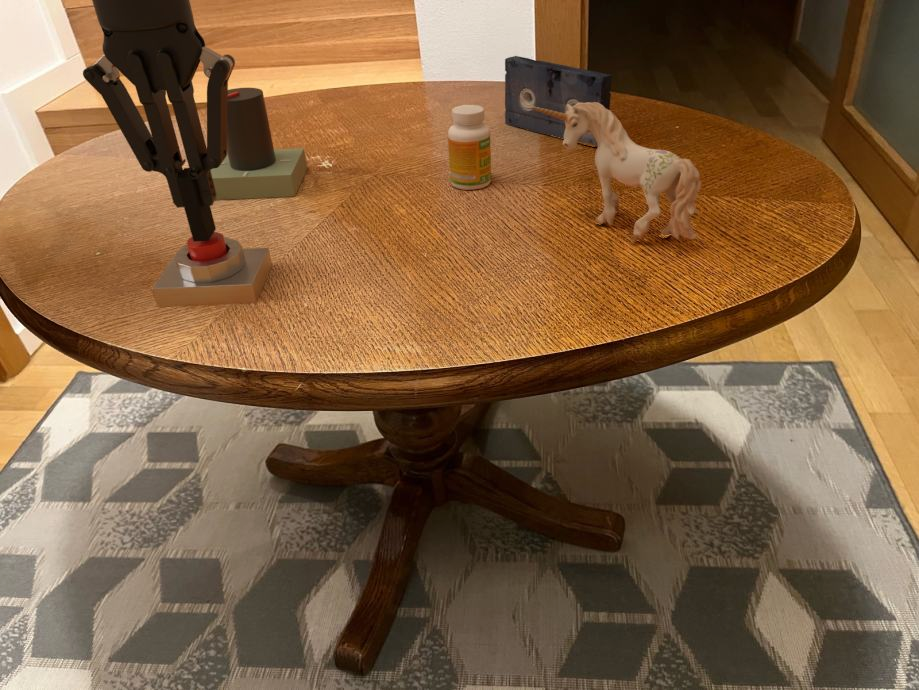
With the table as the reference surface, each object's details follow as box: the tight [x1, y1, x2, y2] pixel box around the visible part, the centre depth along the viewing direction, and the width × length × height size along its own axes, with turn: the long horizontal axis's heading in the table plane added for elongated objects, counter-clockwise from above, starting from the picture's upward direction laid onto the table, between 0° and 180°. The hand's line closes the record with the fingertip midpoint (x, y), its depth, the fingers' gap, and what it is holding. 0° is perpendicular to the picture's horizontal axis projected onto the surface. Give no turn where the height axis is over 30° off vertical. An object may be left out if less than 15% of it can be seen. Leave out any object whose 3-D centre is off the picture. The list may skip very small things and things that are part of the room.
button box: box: [151, 236, 273, 308], centre depth 75 cm, size 10×8×4 cm
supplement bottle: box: [447, 104, 492, 191], centre depth 94 cm, size 5×5×10 cm
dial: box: [227, 87, 276, 171], centre depth 95 cm, size 6×6×9 cm
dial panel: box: [211, 147, 308, 201], centre depth 99 cm, size 12×10×3 cm
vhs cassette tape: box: [504, 55, 613, 146], centre depth 108 cm, size 18×3×10 cm, turn 42°
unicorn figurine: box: [531, 102, 702, 242], centre depth 80 cm, size 7×20×13 cm, turn 56°
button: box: [186, 231, 227, 261], centre depth 74 cm, size 4×4×2 cm
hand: (204, 234), depth 73 cm, fingers closed
